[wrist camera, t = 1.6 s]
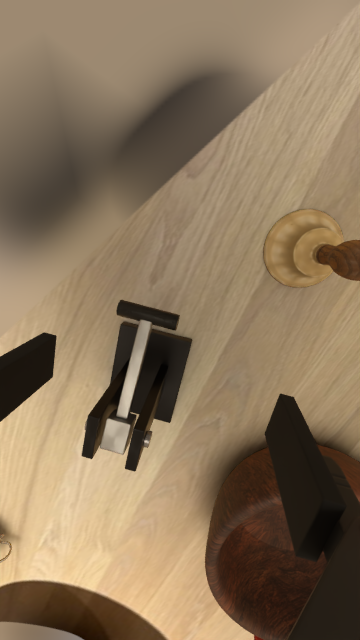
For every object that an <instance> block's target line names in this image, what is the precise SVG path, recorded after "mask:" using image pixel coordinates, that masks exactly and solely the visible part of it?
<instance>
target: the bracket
mask: <svg viewBox="0 0 360 640" xmlns="http://www.w3.org/2000/svg"><path fill="white" fill-rule="evenodd" d="M138 326H139V325H135V324H132V323H128V322H123V323H122V324H121V326H120V331H119V337H118V343H117V348H116V354H115V359H114V365H113V371H112V376H111V382H110V386H109V387H108V389H107V390H106V391H105V393H104V394H103V396H102V397H101V398H100V400H99V401H98V403H97V404H96V405H95V407H94V408H93V410H92V411H91V412H90V414H89V415H88V419H87V421H86V424H85V430H86V432H85V438H84V445H83V451H82V456H83V457H86V458H90V459H92V458H93V456H94V455H95V453H96V451H97V449H98V447H99V446H100V444H101V441H102V437H103V433H104V429H105V425H106V421H107V418H108V417H109V416H110V414H111V413H112V412H113V411H114V410H115V409H118V405H119V401H120V397H121V393H122V389H123V385H124V381H125V377H126V373H127V369H128V366H129V362H130V358H131V354H132V350H133V346H134V342H135V338H136V334H137V330H138ZM191 343H192V339H188V338H184V337H181V336H177V335H173V334H169V333H166V332H162V331H158V330H154V329H152V330H151V334H150V338H149V342H148V346H147V349H146V353H145V357H144V361H143V365H142V369H141V373H140V377H139V381H138V385H137V389H136V392H135V396H134V400H133V404H132V408H131V412H133V413H136V414H140V415H139V417H138V419H137V422H136V424H135V426H134V429H133V433H132V438H131V442H130V447H129V451H128V456H127V460H126V465H125V469H128V470H131V471H136V469H137V466H138V463H139V460H140V457H141V454H142V451H143V448H144V447H147V448H148V446H149V443H150V440H151V436H152V432H151V431H150V428H151V425H152V422H153V419H158V420H161V421H165V422H168V423H170V422H171V418H172V414H173V410H174V407H175V403H176V399H177V395H178V391H179V388H180V384H181V380H182V376H183V373H184V369H185V365H186V361H187V358H188V354H189V350H190V346H191Z"/></svg>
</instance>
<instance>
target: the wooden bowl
mask: <svg viewBox="0 0 360 640" xmlns="http://www.w3.org/2000/svg"><path fill="white" fill-rule="evenodd" d="M317 446H318V448H319V450H320V452H321V454H322V455H325V456H329V457H331V458H332V459H333V460H334V461H335V462H336V463H337V464H338V465H339V466H340V467H341V469H342V471H343V473H344V474H345V476H346V480H348V482H349V484H350V486H351V489H353V491H354V493H355V495H356V497H357V498H358V500H359V502H360V462H358V461H357V460H355V459H353V458H351V457H349V456H348V455H346V454H344V453H341V452H339V451H336V450H333V449H331V448H327V447H324V446H320V445H317ZM326 565H327V561H326V558H325V555H324V552H323V551H322V553H321V555H320V557H319V559H318V561H317V562H314V561H310V560H307V559H303V558H300V557H296V556H295V552H294V548H293V544H292V540H291V536H290V532H289V528H288V524H287V520H286V516H285V512H284V508H283V504H282V500H281V496H280V492H279V488H278V484H277V480H276V476H275V472H274V468H273V464H272V460H271V456H270V452H269V448H265V449H262V450H260V451H258V452H255V453H254V454H252V455H250V456H249V457H247V458H246V459H244V460H243V461H242V462H241V463H240V464H239V465H238V466H237V467H236V468H235V469H234V470H233V471H232V472H231V473H230V475H229V476H228V477H227V479H226V481H225V482H224V484H223V486H222V487H221V489H220V492H219V494H218V497H217V499H216V502H215V505H214V509H213V513H212V516H211V521H210V527H209V533H208V539H207V546H206V554H205V569H206V575H207V580H208V584H209V587H210V589H211V592H212V594H213V596H214V597H215V599H216V601H217V602H218V604H219V605H220V607H221V608H222V609H223V610H224V611H225V612H226V613H227V614H228V615H229V616H230V617H231V618H232V619H233V620H234V621H235V622H236V623H238V624H239V625H240V626H241V627H243V628H244V629H246V630H247V631H249V632H250V633H252V634H254V635H255V636H257V637H259V638H261V639H263V640H286V639H287V637H288V635H289V633H290V632H291V630H292V628H293V626H294V624H295V622H296V620H297V619H298V617H299V615H300V613H301V611H302V609H303V607H304V606H305V604H306V602H307V600H308V598H309V596H310V595H311V593H312V591H313V589H314V587H315V585H316V583H317V581H318V579H319V578H320V576H321V574H322V572H323V570H324V569H325V567H326Z"/></svg>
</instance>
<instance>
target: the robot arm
mask: <svg viewBox="0 0 360 640" xmlns="http://www.w3.org/2000/svg"><path fill="white" fill-rule="evenodd" d="M55 346H56V335H52V334H48V333H42V334H40V335H38V336H37V337H35V338H33V339H31V340H29V341H28V342H26V343H24V344H22V345H20V346H19V347H17V348H15V349H13V350H11V351H10V352H8V353H6V354H4V355H2V356H1V357H0V422H1V421H2V420H3V419H4V418H5V417H7V416H8V415H9V414H10V413H11V412H12V411H14V410H15V409H16V408H17V407H18V406H19V405H21V404H22V403H23V402H24V401H25V400H26V399H28V398H29V397H30V396H31V395H32V394H33V393H35V392H36V391H37V390H38V389H39V388H40V387H42V386H43V385H44V384H45V383H46V382H47V381H49V380H50V379H51V378H52V377H53V368H54V357H55ZM265 436H266V440H267V444H268V448H269V452H270V456H271V460H272V464H273V468H274V472H275V476H276V480H277V484H278V488H279V492H280V496H281V500H282V504H283V508H284V512H285V516H286V520H287V524H288V528H289V532H290V536H291V540H292V544H293V548H294V552H295V556H296V557H300V558H303V559H307V560H310V561H314V562H317V561H318V559H319V557H320V555H321V553H322V551H323V552H324V555H325V558H326V561H327V565H326V567H325V569H324V570H323V572H322V574H321V576H320V578H319V579H318V581H317V583H316V585H315V587H314V589H313V591H312V593H311V595H310V596H309V598H308V600H307V602H306V604H305V606H304V607H303V609H302V611H301V613H300V615H299V617H298V619H297V620H296V622H295V624H294V626H293V628H292V630H291V632H290V633H289V635H288V637H287V639H286V640H360V502H359V500H358V498H357V497H356V495H355V493H354V491H353V489H351V486H350V484H349V482H348V480H346V476H345V474H344V473H343V471H342V469H341V467H340V466H339V465H338V464H337V463H336V462H335V461H334V460H333V459H332V458H331V457H329V456H325V455H322V454H321V452H320V450H319V448H318V446H317V444H316V442H315V440H314V438H313V436H312V434H311V432H310V430H309V427H308V425H307V423H306V421H305V419H304V417H303V415H302V413H301V411H300V409H299V407H298V405H297V403H296V401H295V399H294V397H291V396H287V395H284V394H280V395H279V398H278V400H277V403H276V405H275V408H274V411H273V413H272V416H271V419H270V421H269V424H268V426H267V429H266V432H265Z"/></svg>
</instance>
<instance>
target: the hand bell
mask: <svg viewBox="0 0 360 640" xmlns="http://www.w3.org/2000/svg"><path fill="white" fill-rule="evenodd" d="M264 261H265V264H266V267H267V269H268V271H269V273H270V274H271V275H272V276H273V277H274V279H276V280H277V281H279V282H280V283H282V284H284V285H287V286H290V287H297V288H302V287H309V286H312V285H315V284H317V283H319V282H321V281H323V280H324V279H326V278H327V277H328V276H329V275H330V274H331V273H332V272H333V271H334V272H335V273H337V274H338V275H340V276H342V277H344V278H346V279H350V280H355V281H360V240H351V241H347V242H344V239H343V234H342V231H341V229H340V227H339V225H338V224H337V222H336V221H335V220H334V219H333V218H332V217H331V216H329V215H328V214H326V213H324V212H322V211H318V210H314V209H303V210H298V211H295V212H292V213H290V214H288V215H286V216H284V217H283V218H281V219H280V220H279V221H278V222H277V223H276V224H275V225H274V226H273V227H272V229H271V230H270V232H269V234H268V236H267V238H266V241H265V244H264Z"/></svg>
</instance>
